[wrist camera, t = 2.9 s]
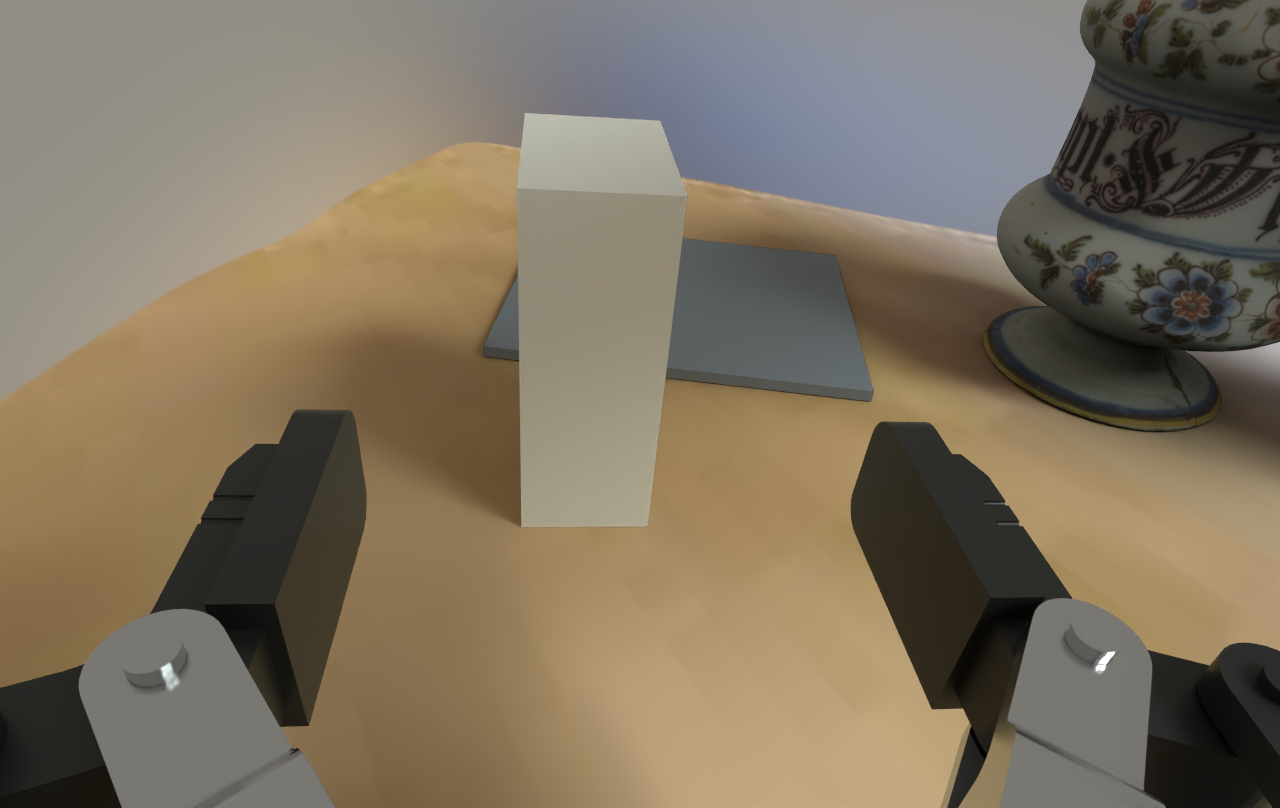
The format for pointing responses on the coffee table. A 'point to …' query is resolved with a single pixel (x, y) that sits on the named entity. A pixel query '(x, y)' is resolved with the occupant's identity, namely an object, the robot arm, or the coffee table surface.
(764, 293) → the mat
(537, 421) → the tall cream pillar block
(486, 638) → the coffee table surface
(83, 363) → the coffee table surface
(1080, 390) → the apothecary jar
